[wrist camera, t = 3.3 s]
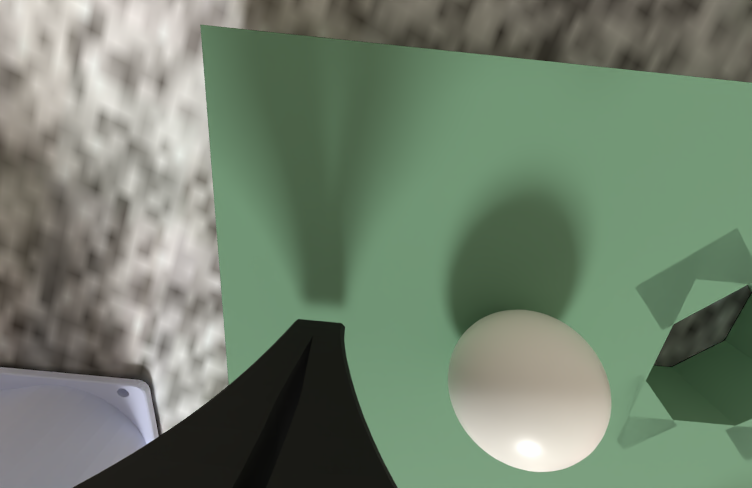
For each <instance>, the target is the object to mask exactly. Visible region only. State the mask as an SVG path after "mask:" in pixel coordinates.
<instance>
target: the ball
mask: <svg viewBox="0 0 752 488" xmlns="http://www.w3.org/2000/svg"><path fill="white" fill-rule="evenodd" d="M448 389H449V395H450V400H451V403H452V406H453V409H454V411H455V414H456V416H457V418H458V420H459V422H460V423H461V425H462V427H463V428H464V430H465V431H466V432H467V434H468V435H469V436H470V437H471V439H472V440H473V441H474V442H475V443H476V444H477V445H478V446H479V447H480V448H481V449H483V450H484V451H485V452H487V453H488V454H489V455H491V456H492V457H494V458H495V459H497V460H499V461H501V462H503V463H505V464H507V465H509V466H512V467H515V468H518V469H522V470H526V471H532V472H550V471H557V470H562V469H565V468H568V467H570V466H573V465H574V464H576V463H578V462H580V461H581V460H583V459H585V458H586V457H587V456H588V455H590V454H591V453H592V452H593V451H594V449H595V448H596V447H597V446H598V444H599V443H600V441H601V440H602V438H603V436H604V435H605V432H606V429H607V426H608V424H609V420H610V415H611V391H610V385H609V382H608V378H607V375H606V372H605V370H604V367H603V365H602V363H601V361H600V360H599V358H598V356H597V355H596V353H595V352H594V350H593V349H592V347H591V346H590V345H589V344H588V343H587V342H586V340H585V339H584V338H583V337H582V336H581V335H579V334H578V333H577V332H576V331H575V330H573V329H572V328H571V327H569V326H568V325H566V324H565V323H563V322H561V321H560V320H558V319H555V318H553V317H551V316H549V315H546V314H543V313H539V312H535V311H530V310H518V309H517V310H505V311H500V312H496V313H493V314H490V315H488V316H485V317H484V318H482V319H480V320H478V321H477V322H475V323H474V324H473V325H472V326H471V327H469V328H468V329H467V330H466V331H465V332H464V334H463V335H462V336H461V337H460V339H459V340H458V342H457V344H456V346H455V348H454V350H453V352H452V355H451V359H450V363H449V368H448Z"/></svg>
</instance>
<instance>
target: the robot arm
mask: <svg viewBox="0 0 752 488" xmlns="http://www.w3.org/2000/svg"><path fill="white" fill-rule="evenodd" d="M344 336H345V326H344V325H343V324H342V323H336V322H326V321H315V320H304V319H298V320H296V321H295V322H294V323H293V324H292V325H291V326H290V327H289V328H288V329H287V331H286V332H285V333H284V334H283V335H282V336H281V337H280V338H279V339H278V340H277V341H276V342H275V343H274V344H273V345H272V346H271V347H270V348H269V349H268V350H267V351H266V352H265V353H264V354H263V355H262V356H261V357H260V358H259V359H258V360H257V361H255V362H254V363H253V364H252V365H251V366H250V367H249V368H248V369H247V370H246V371H245V372H243V373H242V374H241V375H240V376H239V377H238V378H236V379H235V380H234V381H233V382H232V383H231V384H229V385H228V386H227V387H226V388H225V389H224V390H222V391H221V392H220V393H219V394H217V395H216V396H215V397H214V398H212V399H211V400H210V401H209V402H207V403H206V404H205V405H203V406H202V407H201V408H199V409H198V410H197V411H195V412H194V413H192V414H191V415H190V416H188V417H187V418H186V419H184V420H183V421H181V422H180V423H178V424H177V425H175V426H174V427H172V428H171V429H170V430H168V431H167V432H165V433H163V434H162V435H160V436H159V435H158V429H157V424H156V419H155V413H154V408H153V403H152V397H151V392H150V388H149V386H148V384H147V383H146V382H144V381H142V380H136V379H125V378H115V377H104V376H93V375H82V374H71V373H60V372H49V371H38V370H27V369H16V368H5V367H0V488H398V487H397V486H396V484H395V482H394V480H393V478H392V476H391V474H390V472H389V471H388V469H387V467H386V465H385V463H384V461H383V459H382V457H381V455H380V453H379V450H378V448H377V446H376V444H375V442H374V440H373V437H372V435H371V433H370V430H369V428H368V425H367V423H366V420H365V418H364V415H363V413H362V410H361V407H360V404H359V401H358V398H357V395H356V392H355V389H354V385H353V382H352V378H351V374H350V370H349V366H348V362H347V357H346V350H345V342H344Z"/></svg>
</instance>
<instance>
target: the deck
mask: <svg viewBox="0 0 752 488" xmlns="http://www.w3.org/2000/svg"><path fill="white" fill-rule="evenodd" d="M201 38H202V51H203V63H204V76H205V89H206V101H207V114H208V127H209V139H210V152H211V165H212V177H213V190H214V203H215V215H216V228H217V241H218V253H219V266H220V279H221V291H222V304H223V317H224V330H225V342H226V355H227V368H228V380H229V384H231V383H232V382H233V381H234V380H235V379H236V378H238V377H239V376H240V375H241V374H242V373H243V372H245V371H246V370H247V369H248V368H249V367H250V366H251V365H252V364H253V363H254V362H255V361H257V360H258V359H259V358H260V357H261V356H262V355H263V354H264V353H265V352H266V351H267V350H268V349H269V348H270V347H271V346H272V345H273V344H274V343H275V342H276V341H277V340H278V339H279V338H280V337H281V336H282V335H283V334H284V333H285V332H286V331H287V329H288V328H289V327H290V326H291V325H292V324H293V323H294V322H295V321H296V320H298V319H304V320H315V321H326V322H336V323H342V324H343V325H344V326H345V336H344V342H345V350H346V357H347V362H348V366H349V370H350V374H351V378H352V382H353V385H354V389H355V392H356V395H357V398H358V401H359V404H360V407H361V410H362V413H363V415H364V418H365V420H366V423H367V425H368V428H369V430H370V433H371V435H372V437H373V440H374V442H375V444H376V446H377V448H378V450H379V453H380V455H381V457H382V459H383V461H384V463H385V465H386V467H387V469H388V471H389V472H390V474H391V476H392V478H393V480H394V482H395V484H396V486H397V487H398V488H752V294H751V295H750V297H749V299H748V301H747V302H746V304H745V306H744V308H743V309H742V311H741V313H740V315H739V317H738V318H737V320H736V322H735V324H734V325H733V327H732V329H731V331H730V332H729V334H728V336H727V338H726V339H725V341H723V342H721V343H719V344H717V345H715V346H713V347H711V348H709V349H707V350H705V351H703V352H701V353H699V354H697V355H695V356H693V357H691V358H689V359H687V360H685V361H683V362H681V363H679V364H677V365H675V366H673V367H664V366H653V365H654V363H655V361H656V359H657V357H658V355H659V353H660V351H661V349H662V347H663V345H664V343H665V341H666V339H667V337H668V334H669V332H670V330H671V328H672V326H673V324H675V323H677V322H679V321H681V320H683V319H684V318H686V317H688V316H690V315H692V314H694V313H696V312H698V311H699V310H701V309H703V308H705V307H707V306H709V305H711V304H712V303H714V302H716V301H718V300H720V299H722V298H724V297H726V296H727V295H729V294H731V293H733V292H735V291H737V290H739V289H741V288H742V287H744V286H746V285H748V287H749V289H750V291H751V293H752V83H749V82H740V81H730V80H721V79H711V78H702V77H692V76H683V75H673V74H664V73H654V72H645V71H635V70H626V69H616V68H607V67H597V66H588V65H578V64H569V63H559V62H550V61H540V60H531V59H521V58H512V57H502V56H493V55H483V54H474V53H464V52H455V51H445V50H436V49H426V48H417V47H407V46H398V45H388V44H379V43H369V42H360V41H350V40H341V39H331V38H322V37H312V36H303V35H293V34H284V33H274V32H265V31H255V30H246V29H236V28H227V27H217V26H208V25H201ZM517 309H518V310H530V311H535V312H539V313H543V314H546V315H549V316H551V317H553V318H555V319H558V320H560V321H561V322H563V323H565V324H566V325H568V326H569V327H571V328H572V329H573V330H575V331H576V332H577V333H578V334H579V335H581V336H582V337H583V338H584V339H585V340H586V342H587V343H588V344H589V345H590V346H591V347H592V349H593V350H594V352H595V353H596V355H597V356H598V358H599V360H600V361H601V363H602V365H603V367H604V370H605V372H606V375H607V378H608V382H609V385H610V391H611V415H610V420H609V424H608V426H607V429H606V432H605V435H604V436H603V438H602V440H601V441H600V443H599V444H598V446H597V447H596V448H595V449H594V451H593V452H592V453H591V454H590V455H588V456H587V457H586V458H585V459H583V460H581V461H580V462H578V463H576V464H574V465H573V466H570V467H568V468H565V469H562V470H557V471H550V472H532V471H526V470H522V469H518V468H515V467H512V466H509V465H507V464H505V463H503V462H501V461H499V460H497V459H495V458H494V457H492V456H491V455H489V454H488V453H487V452H485V451H484V450H483V449H481V448H480V447H479V446H478V445H477V444H476V443H475V442H474V441H473V440H472V439H471V437H470V436H469V435H468V434H467V432H466V431H465V430H464V428H463V427H462V425H461V423H460V422H459V420H458V418H457V416H456V414H455V411H454V409H453V406H452V403H451V400H450V395H449V389H448V368H449V363H450V359H451V355H452V352H453V350H454V348H455V346H456V344H457V342H458V340H459V339H460V337H461V336H462V335H463V334H464V332H465V331H466V330H467V329H468V328H469V327H471V326H472V325H473V324H474V323H475V322H477V321H478V320H480V319H482V318H484V317H485V316H488V315H490V314H493V313H496V312H500V311H505V310H517Z"/></svg>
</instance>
